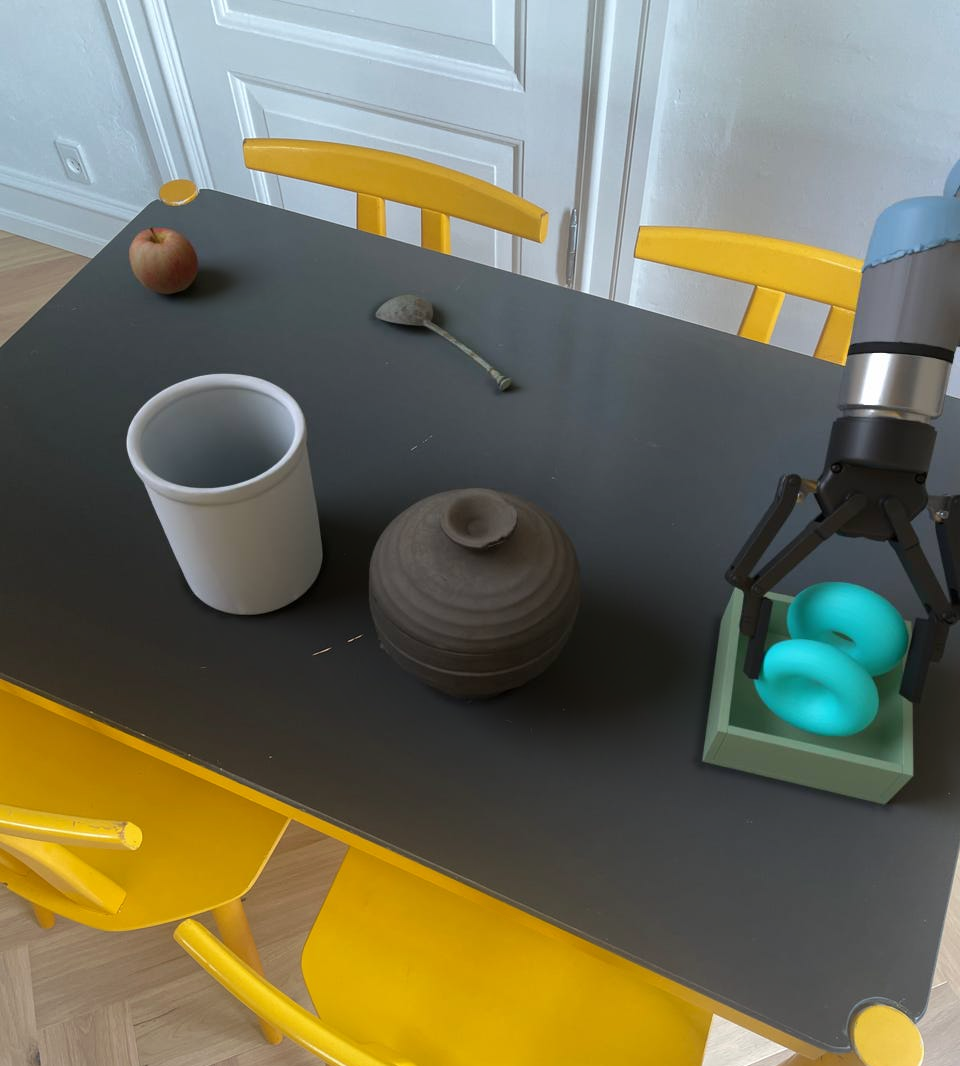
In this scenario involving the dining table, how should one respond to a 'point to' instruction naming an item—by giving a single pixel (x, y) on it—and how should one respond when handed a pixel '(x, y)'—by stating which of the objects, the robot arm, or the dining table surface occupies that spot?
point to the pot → (474, 591)
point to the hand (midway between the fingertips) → (829, 687)
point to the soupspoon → (428, 325)
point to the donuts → (832, 659)
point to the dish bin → (788, 752)
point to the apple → (163, 260)
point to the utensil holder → (231, 489)
